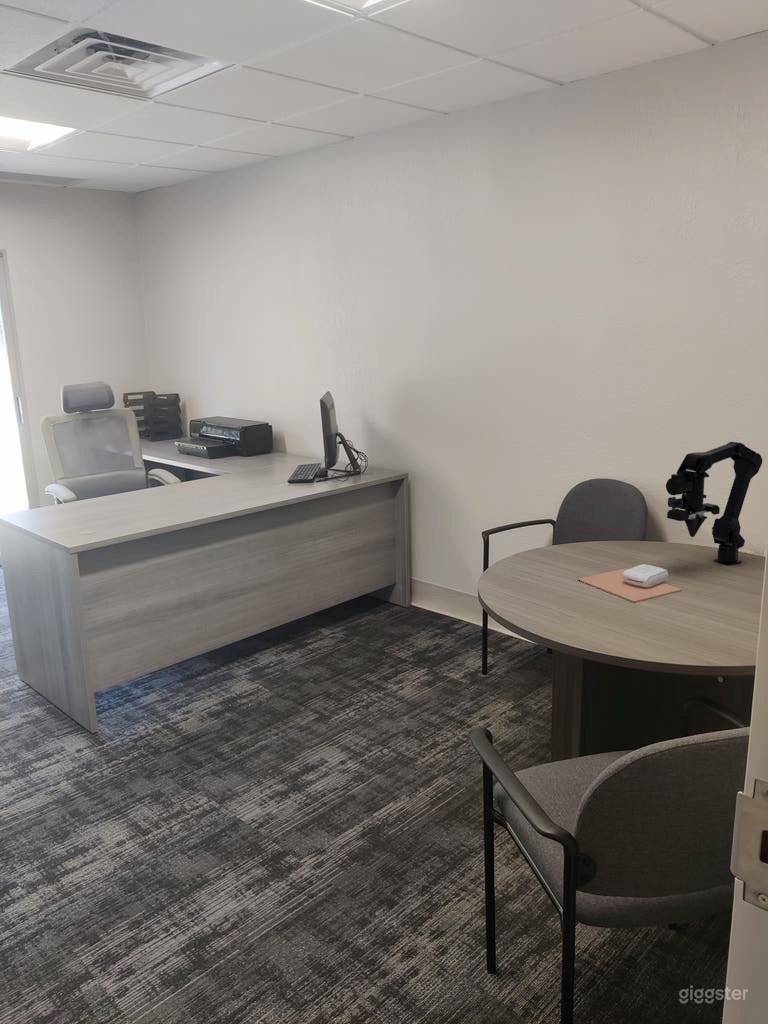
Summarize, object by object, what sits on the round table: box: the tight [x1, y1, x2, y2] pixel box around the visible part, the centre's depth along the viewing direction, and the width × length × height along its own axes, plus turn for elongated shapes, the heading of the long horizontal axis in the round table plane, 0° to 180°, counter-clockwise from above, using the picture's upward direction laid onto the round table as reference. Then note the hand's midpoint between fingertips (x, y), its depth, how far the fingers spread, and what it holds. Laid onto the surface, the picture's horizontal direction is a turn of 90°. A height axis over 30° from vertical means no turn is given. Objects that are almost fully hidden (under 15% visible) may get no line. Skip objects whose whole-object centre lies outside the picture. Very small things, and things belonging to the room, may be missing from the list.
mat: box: [577, 568, 683, 603], centre depth 251 cm, size 20×26×1 cm
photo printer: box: [622, 563, 669, 587], centre depth 251 cm, size 10×4×12 cm
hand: (692, 536), depth 260 cm, fingers closed
